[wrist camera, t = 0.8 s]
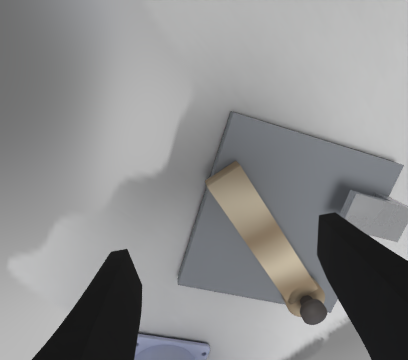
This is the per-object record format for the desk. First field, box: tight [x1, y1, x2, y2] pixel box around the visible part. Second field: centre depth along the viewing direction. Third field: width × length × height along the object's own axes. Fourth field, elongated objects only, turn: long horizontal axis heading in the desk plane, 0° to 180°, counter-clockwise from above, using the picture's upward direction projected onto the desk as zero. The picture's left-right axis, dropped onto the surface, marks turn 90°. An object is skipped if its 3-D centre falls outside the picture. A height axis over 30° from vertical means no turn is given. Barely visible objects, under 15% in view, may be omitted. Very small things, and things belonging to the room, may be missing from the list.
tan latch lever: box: [205, 161, 327, 325], centre depth 25 cm, size 16×4×3 cm, turn 33°
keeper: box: [339, 190, 408, 242], centre depth 25 cm, size 3×6×3 cm, turn 73°
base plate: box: [178, 111, 404, 313], centre depth 27 cm, size 16×16×1 cm
